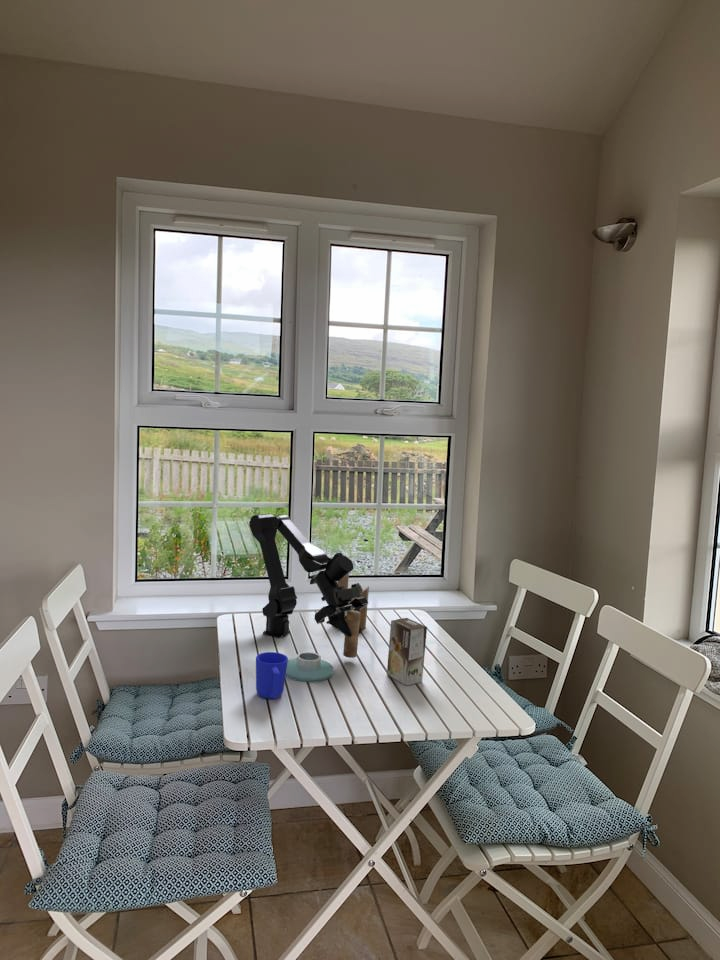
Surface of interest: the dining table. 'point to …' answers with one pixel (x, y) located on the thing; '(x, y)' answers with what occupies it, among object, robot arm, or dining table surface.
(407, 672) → the coffee box
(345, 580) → the wooden block
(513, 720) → the dining table surface
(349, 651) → the dowel
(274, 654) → the mug
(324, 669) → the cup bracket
